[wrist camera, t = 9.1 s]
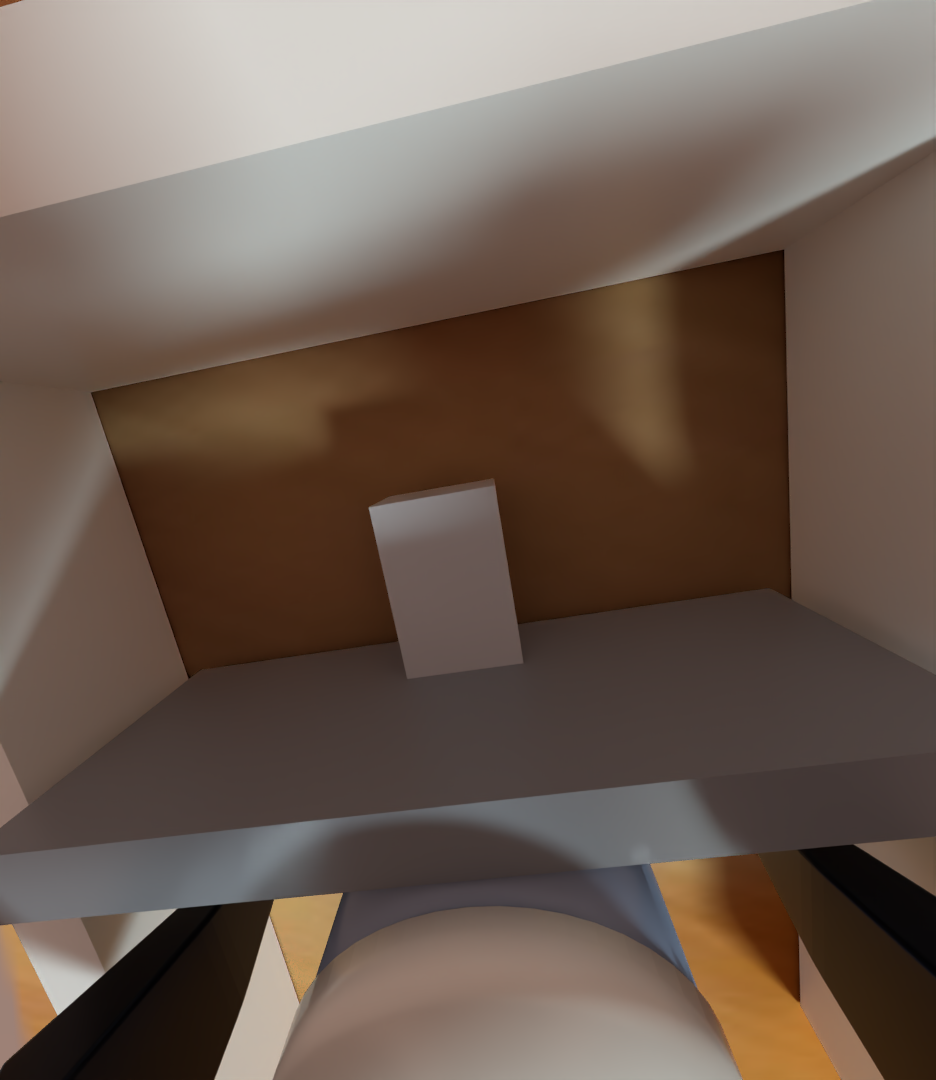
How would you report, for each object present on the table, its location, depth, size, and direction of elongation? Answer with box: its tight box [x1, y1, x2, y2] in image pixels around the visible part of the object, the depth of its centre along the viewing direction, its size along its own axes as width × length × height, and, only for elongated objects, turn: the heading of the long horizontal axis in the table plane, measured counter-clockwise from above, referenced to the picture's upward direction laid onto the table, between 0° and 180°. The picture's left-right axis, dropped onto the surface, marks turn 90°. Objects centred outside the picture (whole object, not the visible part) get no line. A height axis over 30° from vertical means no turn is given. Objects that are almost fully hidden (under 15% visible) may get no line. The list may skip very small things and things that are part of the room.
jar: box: [273, 864, 743, 1080], centre depth 7 cm, size 5×5×6 cm
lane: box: [0, 0, 936, 1080], centre depth 7 cm, size 19×15×5 cm
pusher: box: [0, 478, 936, 925], centre depth 7 cm, size 4×12×4 cm, turn 100°
